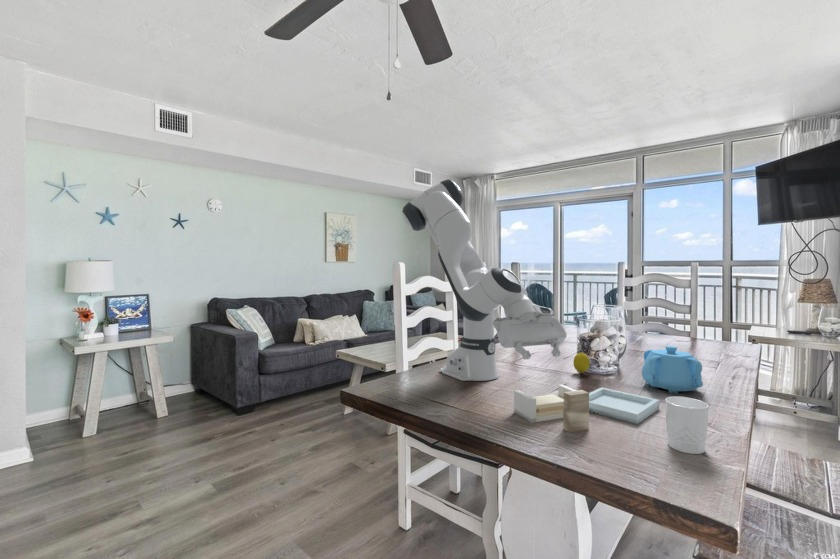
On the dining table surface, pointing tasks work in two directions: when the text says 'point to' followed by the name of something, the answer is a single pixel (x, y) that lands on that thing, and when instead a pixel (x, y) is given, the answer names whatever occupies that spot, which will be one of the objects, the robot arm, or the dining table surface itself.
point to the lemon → (581, 362)
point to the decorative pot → (672, 370)
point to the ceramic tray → (622, 405)
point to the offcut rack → (540, 405)
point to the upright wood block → (576, 411)
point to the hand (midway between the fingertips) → (542, 356)
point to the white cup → (686, 424)
